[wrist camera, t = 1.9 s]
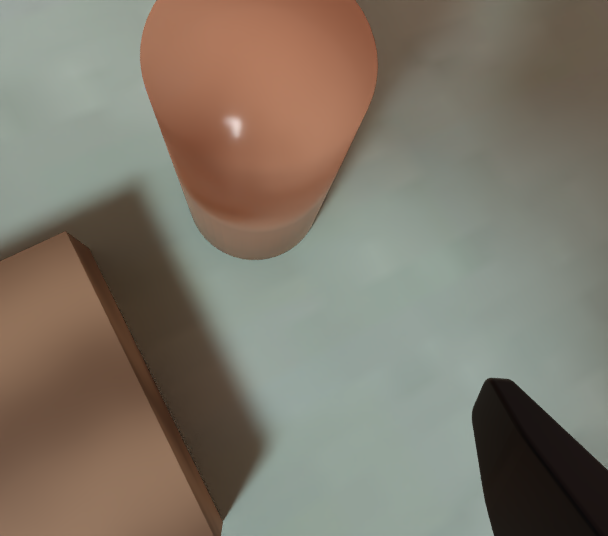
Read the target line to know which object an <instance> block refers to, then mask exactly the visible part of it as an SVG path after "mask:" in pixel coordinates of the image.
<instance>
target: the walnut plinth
mask: <svg viewBox="0 0 608 536" xmlns="http://www.w3.org/2000/svg"><path fill="white" fill-rule="evenodd" d="M222 524H223V521H222V519H221V517H220V515H219V513H218V511H217V509H216V507H215V505H214V503H213V501H212V499H211V497H210V495H209V493H208V491H207V489H206V487H205V485H204V482H203V480H202V478H201V476H200V474H199V472H198V470H197V468H196V466H195V464H194V462H193V460H192V458H191V456H190V454H189V452H188V450H187V448H186V446H185V444H184V442H183V440H182V437H181V435H180V433H179V431H178V429H177V427H176V425H175V423H174V421H173V419H172V417H171V415H170V413H169V411H168V409H167V407H166V405H165V403H164V401H163V399H162V397H161V395H160V393H159V390H158V388H157V386H156V384H155V382H154V380H153V378H152V376H151V374H150V372H149V370H148V368H147V366H146V364H145V362H144V360H143V358H142V356H141V354H140V352H139V350H138V348H137V345H136V343H135V341H134V339H133V337H132V335H131V333H130V331H129V329H128V327H127V325H126V323H125V321H124V319H123V317H122V315H121V313H120V311H119V309H118V307H117V305H116V303H115V301H114V298H113V296H112V294H111V292H110V290H109V288H108V286H107V284H106V282H105V280H104V278H103V276H102V274H101V272H100V270H99V268H98V266H97V264H96V262H95V260H94V258H93V256H92V253H91V251H90V249H89V248H88V247H86V246H85V245H84V244H82V243H81V242H80V241H78V240H77V239H76V238H74V237H73V236H72V235H70V234H69V233H67V232H66V231H65V232H62V233H60V234H58V235H56V236H54V237H52V238H49V239H47V240H45V241H43V242H41V243H39V244H36V245H34V246H32V247H30V248H28V249H25V250H23V251H21V252H19V253H17V254H15V255H12V256H10V257H8V258H6V259H4V260H2V261H0V536H221V531H222Z"/></svg>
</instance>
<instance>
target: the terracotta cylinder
mask: <svg viewBox="0 0 608 536" xmlns="http://www.w3.org/2000/svg"><path fill="white" fill-rule="evenodd" d="M140 63H141V71H142V77H143V80H144V84H145V88H146V91H147V94H148V96H149V99H150V102H151V105H152V107H153V110H154V113H155V116H156V118H157V121H158V124H159V127H160V129H161V132H162V135H163V138H164V140H165V143H166V146H167V149H168V152H169V154H170V157H171V160H172V163H173V165H174V168H175V171H176V174H177V176H178V179H179V182H180V185H181V187H182V190H183V193H184V196H185V198H186V201H187V204H188V207H189V209H190V212H191V215H192V218H193V220H194V222H195V224H196V226H197V228H198V229H199V231H200V233H201V234H202V235H203V236H204V238H205V239H206V240H207V241H208V242H209V243H211V244H212V245H213V246H214V247H216V248H217V249H218V250H220V251H222V252H224V253H226V254H228V255H231V256H233V257H237V258H241V259H248V260H262V259H269V258H272V257H276V256H278V255H281V254H283V253H285V252H287V251H289V250H290V249H292V248H293V247H294V246H296V245H297V244H298V243H299V242H300V241H301V240H302V239H303V238H304V237H305V236H306V234H307V233H308V232H309V230H310V228H311V226H312V225H313V223H314V221H315V218H316V216H317V214H318V212H319V210H320V208H321V206H322V204H323V202H324V200H325V197H326V195H327V193H328V191H329V189H330V187H331V185H332V183H333V181H334V179H335V177H336V174H337V172H338V170H339V168H340V166H341V164H342V162H343V160H344V158H345V156H346V153H347V151H348V149H349V147H350V145H351V143H352V141H353V139H354V137H355V135H356V133H357V130H358V128H359V126H360V124H361V122H362V120H363V118H364V116H365V114H366V112H367V110H368V107H369V105H370V102H371V100H372V97H373V94H374V90H375V86H376V81H377V70H378V61H377V50H376V45H375V40H374V37H373V34H372V31H371V28H370V25H369V23H368V21H367V19H366V17H365V15H364V13H363V11H362V10H361V8H360V7H359V5H358V4H357V2H356V1H355V0H157V1H156V2H155V4H154V5H153V7H152V10H151V12H150V14H149V16H148V18H147V21H146V24H145V27H144V30H143V34H142V40H141V47H140Z"/></svg>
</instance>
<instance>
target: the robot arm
mask: <svg viewBox="0 0 608 536" xmlns="http://www.w3.org/2000/svg"><path fill="white" fill-rule="evenodd" d="M472 424H473V430H474V437H475V443H476V449H477V456H478V462H479V468H480V475H481V481H482V487H483V493H484V498H485V503H486V507H487V511H488V515H489V519H490V522H491V526H492V530H493V533H494V536H608V470H607V469H606V468H605V467H604V466H603V465H602V464H601V463H600V462H599V461H598V460H596V459H595V458H594V457H593V456H592V455H591V454H590V453H589V452H588V451H587V450H586V449H585V448H584V447H583V446H582V445H580V444H579V443H578V442H577V441H576V440H575V439H574V438H573V437H572V436H571V435H570V434H569V433H568V432H567V431H566V430H564V429H563V428H562V427H561V426H560V425H559V424H558V423H557V422H556V421H555V420H554V419H553V418H552V417H551V416H550V415H548V414H547V413H546V412H545V411H544V410H543V409H542V408H541V407H540V406H539V405H538V404H537V403H536V402H535V401H534V400H532V399H531V398H530V397H529V396H528V395H527V394H526V393H525V392H524V391H523V390H522V389H521V388H520V387H519V386H518V385H516V384H515V383H514V382H513V381H511V380H509V379H502V378H488V379H487V380H486V381H485V382H484V384H483V386H482V388H481V391H480V393H479V395H478V398H477V400H476V402H475V404H474V407H473V410H472Z"/></svg>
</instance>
